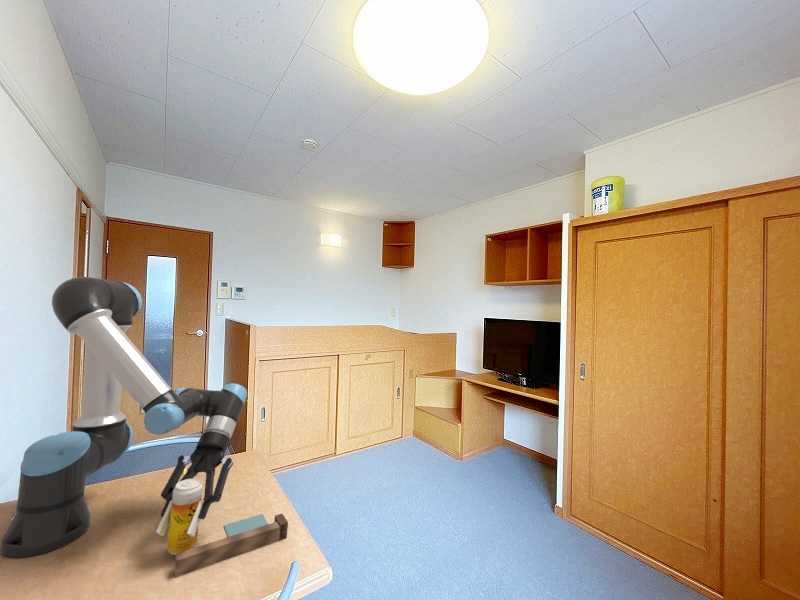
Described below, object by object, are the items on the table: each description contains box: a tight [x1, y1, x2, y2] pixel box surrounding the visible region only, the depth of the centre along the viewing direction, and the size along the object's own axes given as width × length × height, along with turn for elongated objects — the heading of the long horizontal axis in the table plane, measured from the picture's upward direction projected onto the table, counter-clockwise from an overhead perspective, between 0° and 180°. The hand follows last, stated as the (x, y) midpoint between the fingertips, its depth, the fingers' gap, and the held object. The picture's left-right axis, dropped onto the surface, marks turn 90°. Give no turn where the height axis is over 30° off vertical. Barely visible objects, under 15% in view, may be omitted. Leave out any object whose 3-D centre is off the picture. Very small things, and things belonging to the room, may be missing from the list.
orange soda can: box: [166, 478, 203, 556], centre depth 81 cm, size 6×6×15 cm
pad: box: [223, 513, 269, 537], centre depth 90 cm, size 10×9×1 cm
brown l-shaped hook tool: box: [173, 513, 289, 578], centre depth 82 cm, size 24×4×4 cm, turn 128°
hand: (175, 534), depth 77 cm, fingers closed on orange soda can, 6 cm apart
